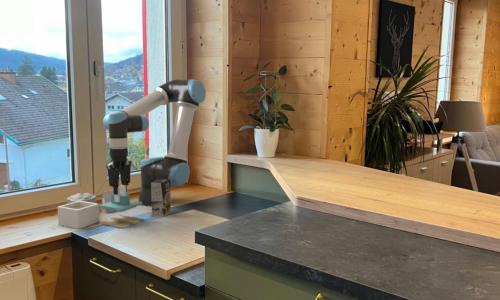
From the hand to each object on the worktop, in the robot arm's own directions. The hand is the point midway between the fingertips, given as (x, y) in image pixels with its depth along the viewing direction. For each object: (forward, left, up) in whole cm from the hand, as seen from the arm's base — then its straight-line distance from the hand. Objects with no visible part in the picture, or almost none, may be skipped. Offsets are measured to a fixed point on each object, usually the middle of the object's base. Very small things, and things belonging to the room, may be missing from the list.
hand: (120, 200), depth 207 cm
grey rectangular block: (-11, -17, -10) cm, 23 cm away
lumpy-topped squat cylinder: (-4, -28, -10) cm, 30 cm away
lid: (0, 0, -2) cm, 2 cm away
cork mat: (0, 0, -10) cm, 10 cm away
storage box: (+10, -15, -10) cm, 20 cm away
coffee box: (-18, +8, -10) cm, 22 cm away
